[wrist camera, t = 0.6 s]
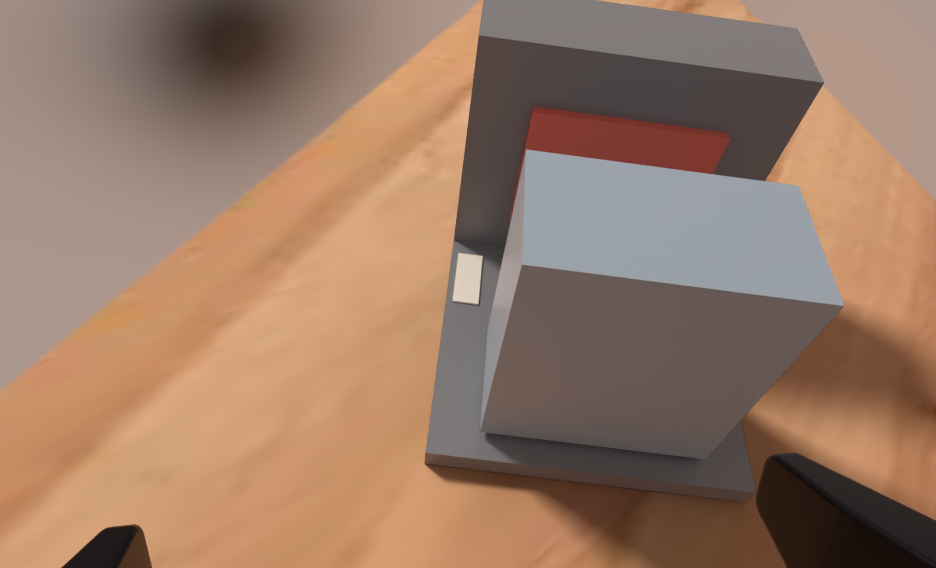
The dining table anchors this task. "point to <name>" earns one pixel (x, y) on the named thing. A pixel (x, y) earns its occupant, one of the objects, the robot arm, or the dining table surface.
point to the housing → (607, 138)
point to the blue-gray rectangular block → (648, 304)
